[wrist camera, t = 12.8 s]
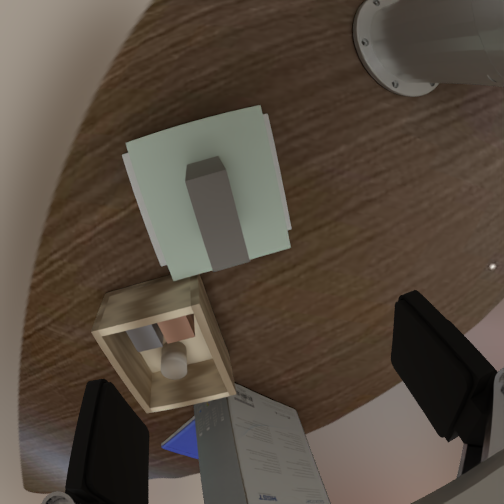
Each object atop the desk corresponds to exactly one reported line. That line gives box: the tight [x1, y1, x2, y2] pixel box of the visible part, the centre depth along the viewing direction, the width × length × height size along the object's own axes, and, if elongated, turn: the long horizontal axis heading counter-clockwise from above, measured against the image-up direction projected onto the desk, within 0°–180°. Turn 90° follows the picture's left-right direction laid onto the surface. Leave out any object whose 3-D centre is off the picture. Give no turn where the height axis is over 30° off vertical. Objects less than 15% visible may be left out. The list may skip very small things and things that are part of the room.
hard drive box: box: [194, 383, 331, 504], centre depth 36 cm, size 16×8×20 cm, turn 47°
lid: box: [126, 105, 291, 281], centre depth 26 cm, size 12×14×9 cm
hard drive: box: [161, 416, 199, 459], centre depth 46 cm, size 2×8×12 cm
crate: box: [91, 274, 237, 413], centre depth 33 cm, size 11×13×7 cm
